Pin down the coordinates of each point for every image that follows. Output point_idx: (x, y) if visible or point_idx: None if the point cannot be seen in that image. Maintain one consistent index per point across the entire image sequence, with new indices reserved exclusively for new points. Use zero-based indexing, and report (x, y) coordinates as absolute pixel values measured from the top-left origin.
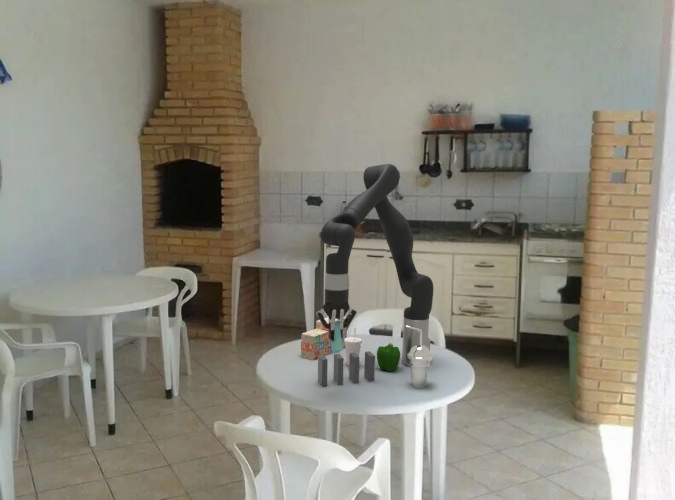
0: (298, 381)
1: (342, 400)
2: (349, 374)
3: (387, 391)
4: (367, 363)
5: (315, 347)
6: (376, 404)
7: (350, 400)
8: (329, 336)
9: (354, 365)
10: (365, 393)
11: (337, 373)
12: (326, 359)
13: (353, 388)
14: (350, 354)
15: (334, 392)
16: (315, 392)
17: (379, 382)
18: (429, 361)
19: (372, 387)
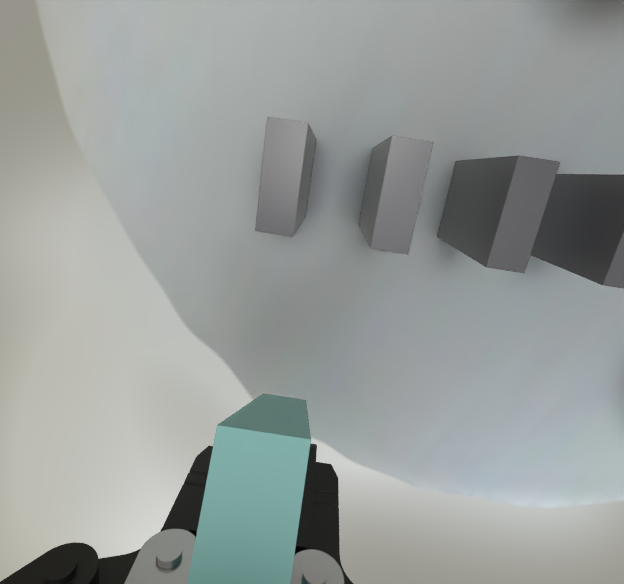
0: (195, 99)
1: (297, 383)
2: (461, 168)
3: (515, 375)
4: (577, 230)
5: None
6: (396, 458)
7: (325, 394)
8: (195, 474)
9: (469, 256)
10: (418, 358)
11: (363, 222)
12: (287, 231)
13: (402, 291)
14: (509, 179)
15: (303, 300)
16: (226, 268)
17: (557, 271)
18: None
19: (487, 313)
